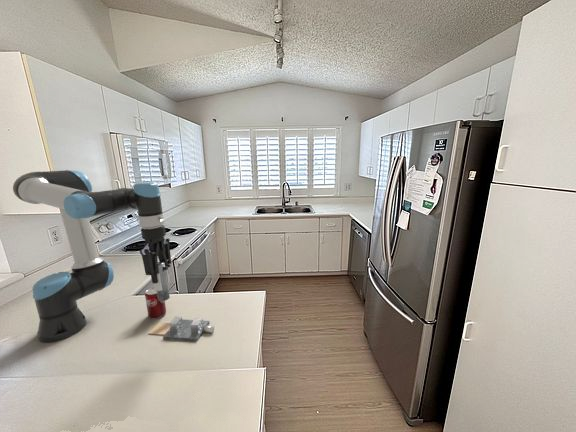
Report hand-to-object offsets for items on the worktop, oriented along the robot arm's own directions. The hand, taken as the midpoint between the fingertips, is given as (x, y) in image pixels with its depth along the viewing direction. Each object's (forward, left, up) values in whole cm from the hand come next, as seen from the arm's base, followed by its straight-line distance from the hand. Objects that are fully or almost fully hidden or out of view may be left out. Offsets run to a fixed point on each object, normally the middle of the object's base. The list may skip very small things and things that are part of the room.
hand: (162, 287), depth 94 cm
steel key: (0, 0, -5) cm, 5 cm away
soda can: (-14, +14, -22) cm, 29 cm away
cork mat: (-6, +5, -22) cm, 23 cm away
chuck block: (+7, +5, -22) cm, 23 cm away
